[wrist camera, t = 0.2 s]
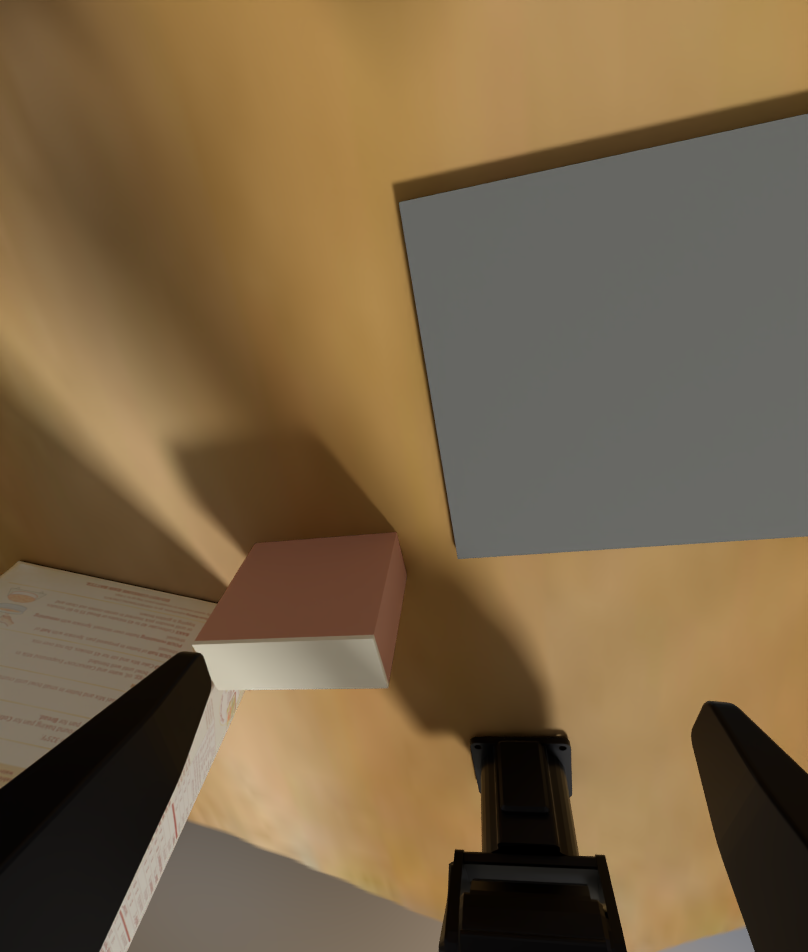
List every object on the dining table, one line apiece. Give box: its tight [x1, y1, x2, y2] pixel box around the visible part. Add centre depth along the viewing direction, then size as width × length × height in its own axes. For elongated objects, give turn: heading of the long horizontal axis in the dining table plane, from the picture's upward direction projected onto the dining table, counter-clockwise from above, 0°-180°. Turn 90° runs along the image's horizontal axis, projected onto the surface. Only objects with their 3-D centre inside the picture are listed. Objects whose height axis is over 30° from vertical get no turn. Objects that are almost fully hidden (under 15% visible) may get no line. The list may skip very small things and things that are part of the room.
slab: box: [192, 532, 407, 690], centre depth 23 cm, size 3×8×7 cm, turn 101°
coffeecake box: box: [0, 561, 245, 952], centre depth 22 cm, size 15×7×20 cm, turn 80°
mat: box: [399, 114, 808, 559], centre depth 19 cm, size 16×20×1 cm
